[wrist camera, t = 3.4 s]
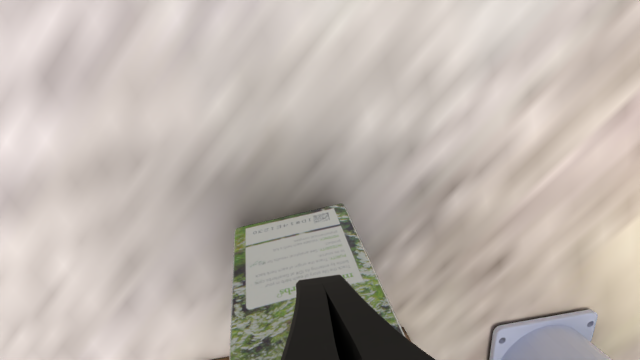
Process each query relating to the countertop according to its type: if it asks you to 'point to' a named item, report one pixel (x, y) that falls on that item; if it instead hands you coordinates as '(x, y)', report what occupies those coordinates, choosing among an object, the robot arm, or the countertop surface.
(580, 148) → the countertop surface
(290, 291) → the syrup box
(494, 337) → the robot arm
